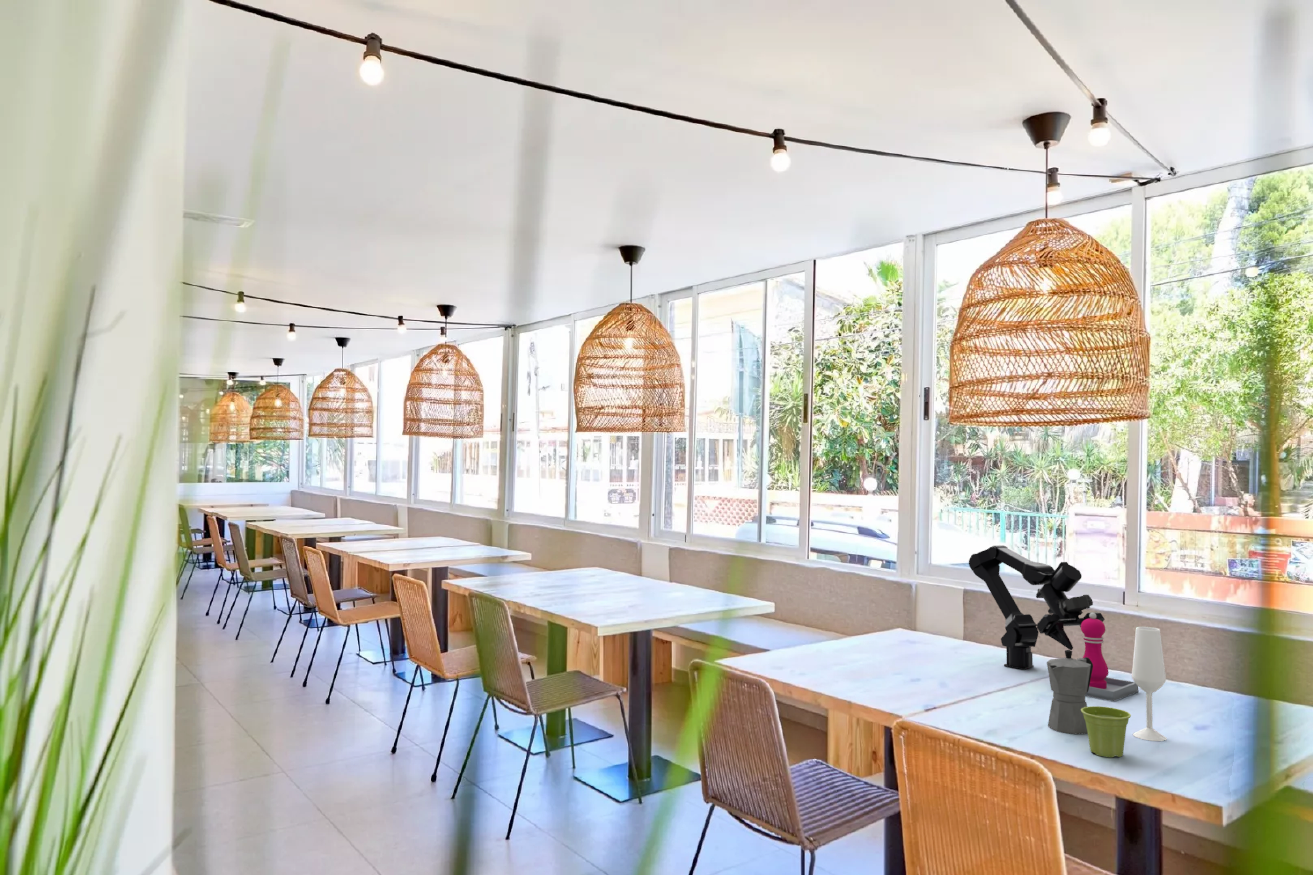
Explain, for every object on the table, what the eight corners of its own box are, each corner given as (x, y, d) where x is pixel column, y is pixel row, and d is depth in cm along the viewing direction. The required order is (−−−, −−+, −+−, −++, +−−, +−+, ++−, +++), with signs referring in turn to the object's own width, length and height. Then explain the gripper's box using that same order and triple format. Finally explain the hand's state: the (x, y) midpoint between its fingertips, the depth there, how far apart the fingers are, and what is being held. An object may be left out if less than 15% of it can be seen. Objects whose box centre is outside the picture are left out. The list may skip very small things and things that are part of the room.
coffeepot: (1071, 738, 194) (1069, 656, 195) (1033, 727, 202) (1032, 649, 203) (1111, 728, 202) (1110, 649, 203) (1073, 718, 210) (1072, 642, 211)
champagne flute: (1150, 742, 192) (1148, 631, 193) (1125, 733, 198) (1124, 626, 199) (1174, 739, 194) (1172, 630, 194) (1149, 730, 200) (1147, 625, 201)
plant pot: (1078, 755, 182) (1077, 713, 183) (1084, 743, 190) (1084, 703, 191) (1129, 763, 177) (1128, 720, 178) (1133, 751, 185) (1133, 710, 185)
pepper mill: (1076, 687, 236) (1075, 613, 237) (1081, 682, 242) (1080, 609, 243) (1106, 691, 232) (1105, 615, 233) (1110, 686, 238) (1109, 612, 239)
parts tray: (1053, 689, 238) (1053, 680, 238) (1079, 681, 248) (1079, 672, 248) (1113, 701, 226) (1113, 691, 226) (1138, 691, 236) (1138, 682, 236)
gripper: (1043, 585, 244) (1072, 632, 233) (1099, 583, 249) (1130, 630, 238) (1025, 609, 251) (1051, 656, 240) (1079, 607, 256) (1108, 653, 245)
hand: (1086, 648), depth 241 cm, fingers open, 9 cm apart
